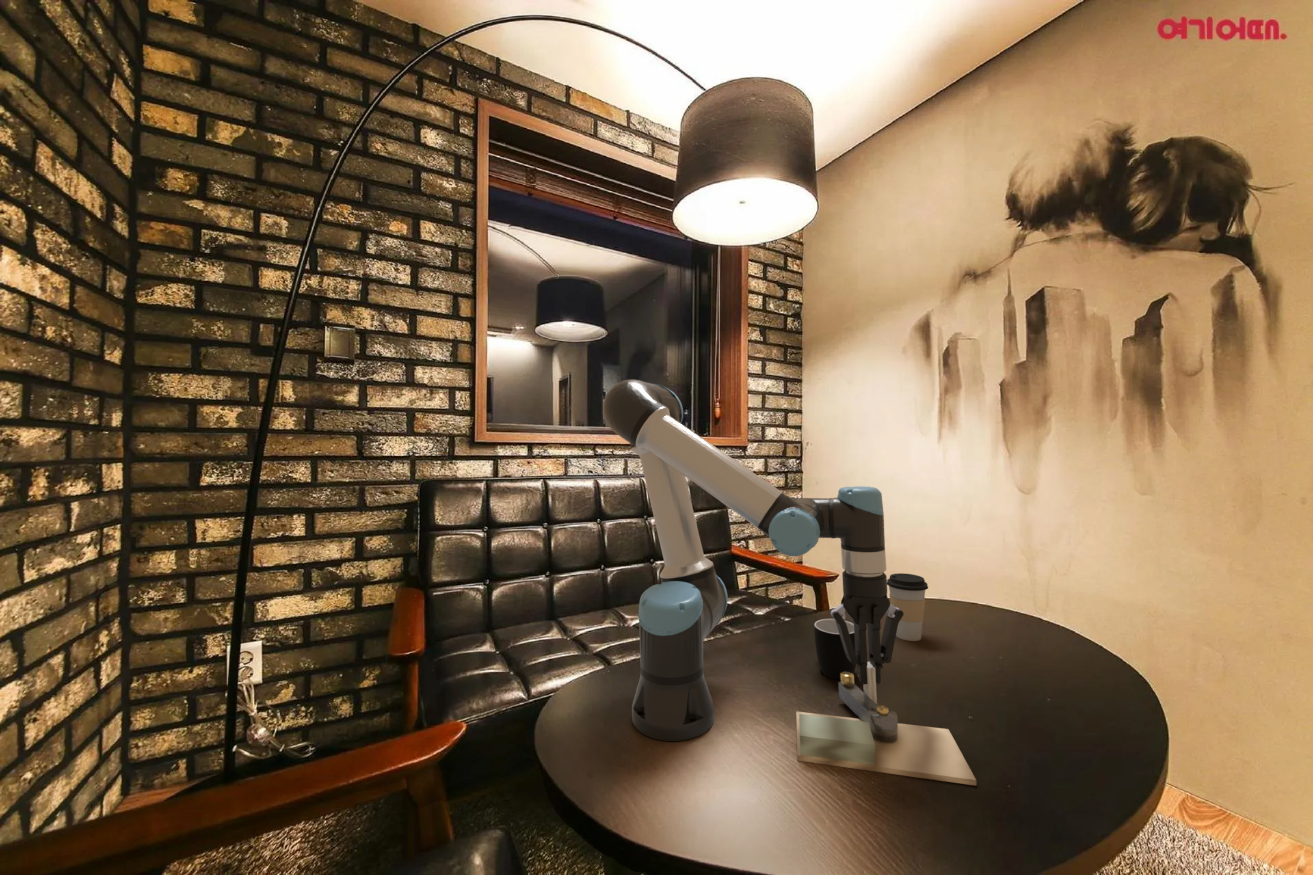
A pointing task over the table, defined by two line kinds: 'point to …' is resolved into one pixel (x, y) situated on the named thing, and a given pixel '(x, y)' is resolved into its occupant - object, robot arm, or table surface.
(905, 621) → the coffee cup
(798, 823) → the table surface
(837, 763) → the board
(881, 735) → the latch bar
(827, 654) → the mug
